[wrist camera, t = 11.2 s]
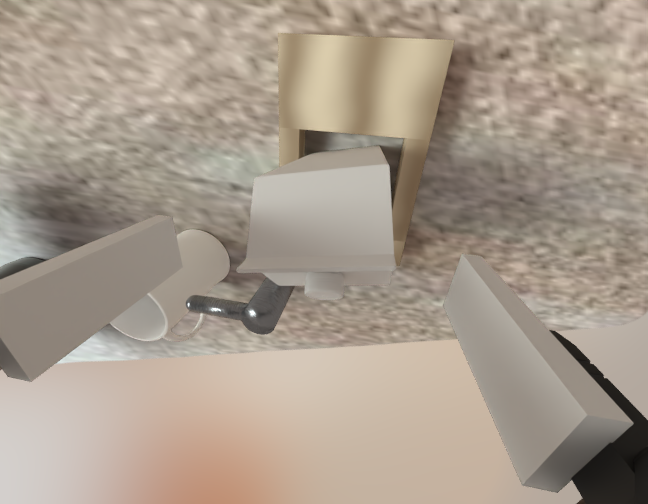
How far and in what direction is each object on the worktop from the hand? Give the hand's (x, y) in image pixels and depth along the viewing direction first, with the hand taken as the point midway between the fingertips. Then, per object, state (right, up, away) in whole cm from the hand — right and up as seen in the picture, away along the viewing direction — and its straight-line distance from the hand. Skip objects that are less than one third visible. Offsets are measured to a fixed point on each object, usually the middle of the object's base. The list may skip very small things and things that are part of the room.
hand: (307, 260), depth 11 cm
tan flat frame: (+4, +10, +15) cm, 18 cm away
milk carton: (+3, +8, +16) cm, 18 cm away
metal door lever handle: (-3, +3, +20) cm, 20 cm away
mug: (-16, -2, +25) cm, 30 cm away
